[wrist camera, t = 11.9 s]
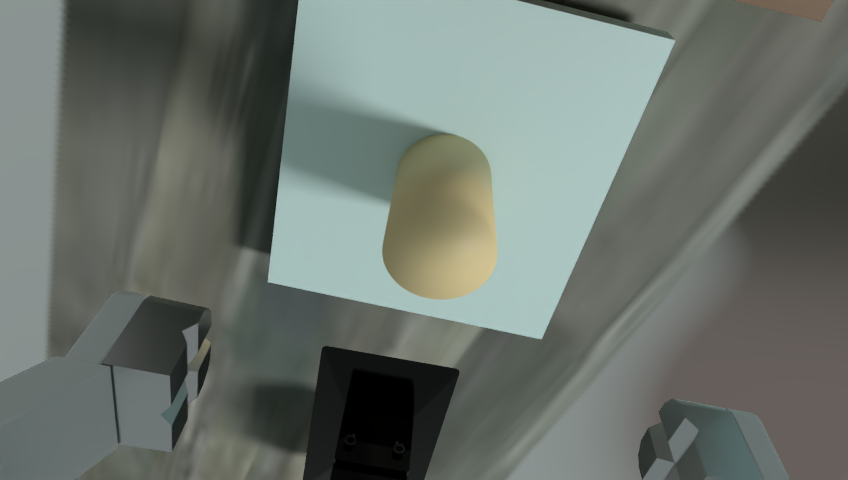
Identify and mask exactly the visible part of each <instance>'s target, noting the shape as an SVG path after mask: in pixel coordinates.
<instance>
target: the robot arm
mask: <svg viewBox="0 0 848 480" xmlns="http://www.w3.org/2000/svg"><path fill="white" fill-rule="evenodd" d="M210 327H211V310H210V309H209V308H205V307H201V306H196V305H192V304H187V303H183V302H178V301H173V300H169V299H164V298H160V297H155V296H151V295H150V296H147V295H143V294H139V293H134V292H130V291H125V290H121V289H120V290H118V291H116V292H115V293H113V294H112V295H111V296H110V297H109V299H108V300H107V301H106V303H105V304H104V305H103V307H102V308H101V309H100V311H99V312H98V313H97V315H96V316H95V317H94V319H93V320H92V321H91V323H90V324H89V325H88V327H87V328H86V330H85V331H84V332H83V334H82V335H81V336H80V338H79V339H78V340H77V342H76V343H75V344H74V346H73V347H72V348H71V350H70V351H69V352H68V354H67V355H66V356H65V358H63V357H57V356H54V357H52V358H50V359H48V360H46V361H44V362H42V363H40V364H38V365H36V366H33V367H31V368H29V369H27V370H25V371H23V372H21V373H19V374H17V375H14V376H12V377H10V378H8V379H6V380H4V381H2V382H0V480H75V479H77V478H78V477H79V476H81V475H82V474H83V473H85V472H86V471H87V470H89V469H90V468H91V467H93V466H94V465H95V464H97V463H98V462H99V461H101V460H102V459H103V458H105V457H106V456H107V455H109V454H110V453H111V452H113V451H114V450H115V449H117V448H118V444H121V445H128V446H135V447H141V448H148V449H155V450H162V451H168V452H172V451H173V449H174V447H175V445H176V442H177V440H178V438H179V436H180V434H181V432H182V430H183V427H184V425H185V423H186V421H187V416H188V403H190V402H191V401H193V400H194V399H196V398H197V397H198V395H199V393H200V390H201V388H202V386H203V383H204V380H205V377H206V373H207V370H208V366H209V360H210V351H211V344H210V343H209V341H208V340H207V339H206V338H205V337H206V335H207V333H208V331H209V329H210ZM659 415H660V417H661V421H662V422H660V423H657V424H656V425H653V426H651V427H649V428H648V429H647V431H646V433H645V435H644V436H643V438H642V440H641V444H640V449H639V454H638V457H639V469H640V473H641V477H642V480H790V479H789V477H788V475H787V473H786V471H785V469H784V467H783V465H782V463H781V461H780V459H779V457H778V455H777V452H776V451H775V448H774V446H773V444H772V442H771V440H770V438H769V436H768V435H767V432H766V430H765V428H764V426H763V424H762V422H761V420H760V419H759V418H758V417H757V416H755V414H753V413H748V412H743V411H737V410H732V409H723V408H720V407H714V406H710V405H704V404H699V403H693V402H688V401H683V400H677V399H670V400H669V401H667V402H665V404H664V405H663V406H662V408H661V409H660V411H659Z"/></svg>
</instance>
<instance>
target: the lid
mask: <svg viewBox="0 0 848 480" xmlns="http://www.w3.org/2000/svg"><path fill="white" fill-rule="evenodd" d="M674 43H675V39H674V38H673V37H672V36H671V35H670V34H669V33H668V32H665V31H661V30H657V29H653V28H649V27H646V26H642V25H638V24H634V23H630V22H626V21H622V20H618V19H614V18H610V17H606V16H602V15H598V14H594V13H590V12H586V11H582V10H579V9H575V8H571V7H567V6H563V5H559V4H555V3H551V2H547V1H543V0H299V1H298V10H297V19H296V28H295V37H294V47H293V56H292V65H291V74H290V83H289V92H288V102H287V111H286V120H285V129H284V138H283V147H282V157H281V166H280V175H279V184H278V193H277V203H276V212H275V221H274V230H273V239H272V248H271V258H270V267H269V276H268V282H270V283H275V284H280V285H284V286H289V287H294V288H299V289H303V290H308V291H313V292H318V293H323V294H327V295H332V296H337V297H342V298H346V299H351V300H356V301H361V302H366V303H370V304H375V305H380V306H385V307H389V308H394V309H399V310H404V311H409V312H413V313H418V314H423V315H428V316H433V317H437V318H442V319H447V320H452V321H456V322H461V323H466V324H471V325H476V326H480V327H485V328H490V329H495V330H499V331H504V332H509V333H514V334H519V335H523V336H528V337H533V338H538V339H542V337H543V335H544V332H545V330H546V328H547V326H548V324H549V321H550V319H551V317H552V315H553V312H554V310H555V308H556V306H557V303H558V301H559V299H560V297H561V295H562V292H563V290H564V288H565V286H566V283H567V281H568V279H569V277H570V274H571V272H572V270H573V268H574V266H575V263H576V261H577V259H578V257H579V254H580V252H581V250H582V248H583V245H584V243H585V241H586V239H587V237H588V234H589V232H590V230H591V228H592V225H593V223H594V221H595V219H596V217H597V214H598V212H599V210H600V208H601V205H602V203H603V201H604V199H605V196H606V194H607V192H608V190H609V188H610V185H611V183H612V181H613V179H614V176H615V174H616V172H617V170H618V167H619V165H620V163H621V161H622V159H623V156H624V154H625V152H626V150H627V147H628V145H629V143H630V141H631V139H632V136H633V134H634V132H635V130H636V127H637V125H638V123H639V121H640V118H641V116H642V114H643V112H644V110H645V107H646V105H647V103H648V101H649V98H650V96H651V94H652V92H653V89H654V87H655V85H656V83H657V81H658V78H659V76H660V74H661V72H662V69H663V67H664V65H665V63H666V60H667V58H668V56H669V54H670V52H671V49H672V47H673V45H674Z"/></svg>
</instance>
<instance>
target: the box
mask: <svg viewBox="0 0 848 480" xmlns="http://www.w3.org/2000/svg"><path fill="white" fill-rule="evenodd" d="M735 1H739V2H743V3H747V4H751V5H755V6H759V7H763V8H767V9H771V10H775V11H779V12H783V13H787V14H791V15H795V16H799V17H803V18H807V19H811V20H815V21H819V22H822V20H823V19H824V17H825V15H826V13H827V11H828V10H829V8H830V6H831V4H832V2H833V1H834V0H735Z"/></svg>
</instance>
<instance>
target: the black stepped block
mask: <svg viewBox="0 0 848 480" xmlns="http://www.w3.org/2000/svg"><path fill="white" fill-rule="evenodd" d="M458 376H459V370H458V369H455V368H449V367H443V366H437V365H432V364H426V363H420V362H415V361H409V360H403V359H398V358H392V357H386V356H380V355H375V354H369V353H363V352H358V351H352V350H346V349H341V348H335V347H329V346H324V347H323V348H322V352H321V359H320V366H319V373H318V379H317V386H316V393H315V400H314V407H313V414H312V421H311V428H310V434H309V441H308V448H307V455H306V462H305V469H304V476H303V480H424V478H425V475H426V472H427V469H428V466H429V463H430V460H431V457H432V454H433V451H434V448H435V445H436V442H437V439H438V436H439V433H440V430H441V427H442V424H443V421H444V418H445V415H446V412H447V409H448V406H449V403H450V400H451V397H452V394H453V391H454V388H455V385H456V382H457V379H458Z"/></svg>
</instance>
